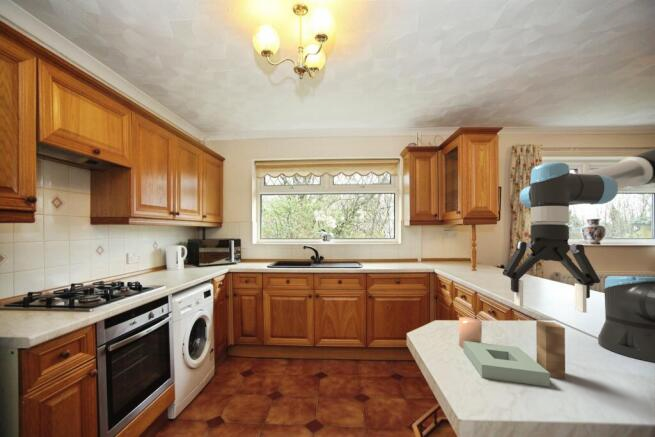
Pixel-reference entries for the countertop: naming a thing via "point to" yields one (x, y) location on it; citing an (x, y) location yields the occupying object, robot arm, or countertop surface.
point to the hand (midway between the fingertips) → (548, 308)
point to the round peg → (469, 330)
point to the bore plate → (505, 363)
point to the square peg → (551, 348)
